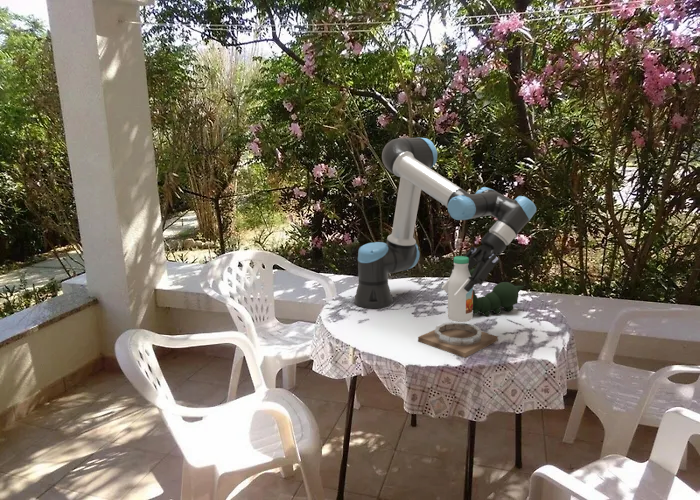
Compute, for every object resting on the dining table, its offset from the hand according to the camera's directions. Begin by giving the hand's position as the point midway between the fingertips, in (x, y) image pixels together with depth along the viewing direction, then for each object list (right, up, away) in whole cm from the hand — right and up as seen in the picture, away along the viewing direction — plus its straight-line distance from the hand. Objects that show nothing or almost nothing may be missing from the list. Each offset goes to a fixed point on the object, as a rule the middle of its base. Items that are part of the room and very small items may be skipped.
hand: (450, 293), depth 163 cm
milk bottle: (+3, -8, +3) cm, 9 cm away
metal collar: (+3, -14, +5) cm, 15 cm away
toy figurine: (+21, -10, +31) cm, 38 cm away
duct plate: (+3, -16, +5) cm, 17 cm away
